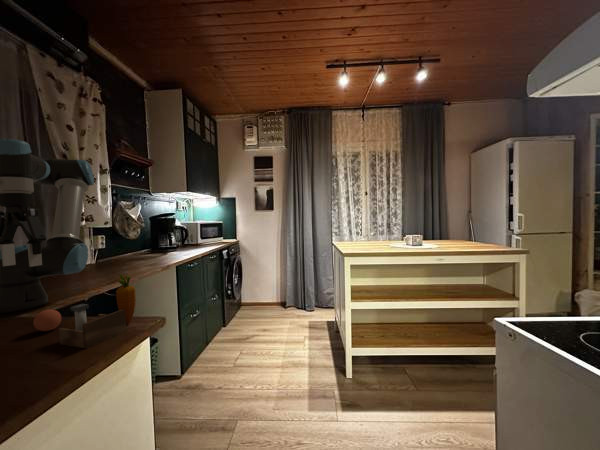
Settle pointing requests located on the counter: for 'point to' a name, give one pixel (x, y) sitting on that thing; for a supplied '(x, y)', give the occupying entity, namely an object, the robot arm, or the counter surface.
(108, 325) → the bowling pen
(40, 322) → the ball
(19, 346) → the counter surface
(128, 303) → the carrot
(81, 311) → the pin
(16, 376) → the counter surface
